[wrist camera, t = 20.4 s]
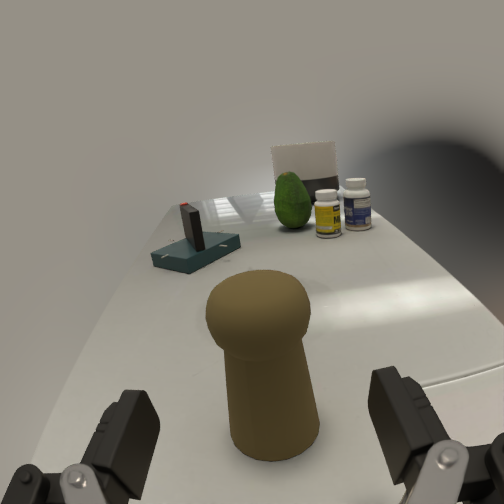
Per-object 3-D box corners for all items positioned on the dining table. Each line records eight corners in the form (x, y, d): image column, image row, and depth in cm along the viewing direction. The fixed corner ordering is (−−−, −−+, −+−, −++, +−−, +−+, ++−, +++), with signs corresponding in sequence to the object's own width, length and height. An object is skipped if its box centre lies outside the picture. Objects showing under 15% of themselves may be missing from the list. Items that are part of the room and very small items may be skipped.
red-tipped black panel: (205, 249, 49) (198, 209, 47) (196, 251, 49) (188, 211, 47) (193, 235, 59) (187, 202, 57) (185, 237, 59) (179, 203, 57)
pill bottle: (342, 225, 61) (338, 178, 58) (366, 222, 61) (363, 176, 58) (349, 232, 56) (346, 181, 53) (375, 229, 56) (372, 179, 53)
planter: (340, 193, 98) (335, 141, 92) (339, 205, 80) (333, 140, 75) (284, 197, 104) (278, 146, 98) (271, 209, 87) (263, 147, 81)
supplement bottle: (338, 238, 53) (335, 192, 51) (313, 238, 56) (309, 193, 53) (343, 231, 57) (340, 188, 55) (320, 230, 60) (316, 188, 57)
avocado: (273, 226, 68) (266, 172, 64) (307, 221, 68) (302, 168, 64) (281, 235, 60) (274, 174, 56) (319, 229, 61) (313, 170, 57)
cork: (269, 385, 22) (250, 251, 19) (336, 415, 18) (340, 267, 14) (212, 431, 18) (167, 291, 15) (281, 476, 14) (258, 329, 10)
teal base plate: (196, 279, 45) (192, 262, 44) (141, 266, 54) (137, 252, 53) (255, 246, 56) (253, 232, 55) (198, 240, 65) (196, 228, 64)
